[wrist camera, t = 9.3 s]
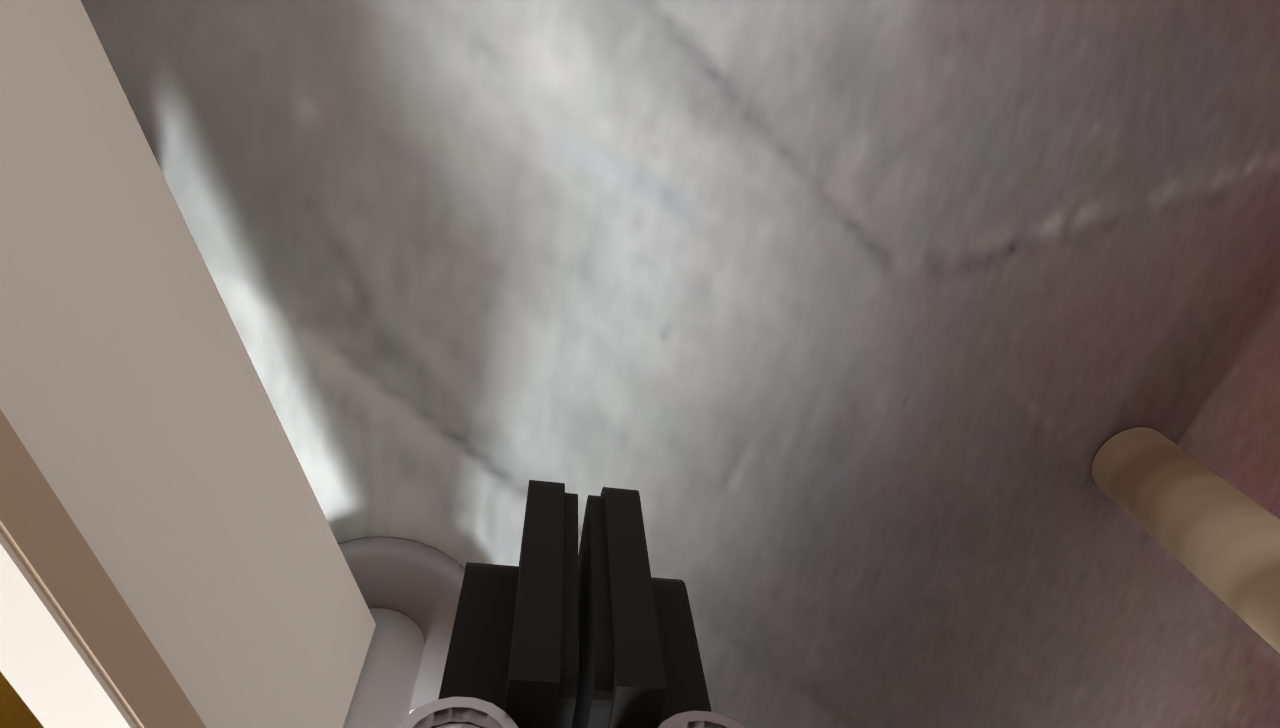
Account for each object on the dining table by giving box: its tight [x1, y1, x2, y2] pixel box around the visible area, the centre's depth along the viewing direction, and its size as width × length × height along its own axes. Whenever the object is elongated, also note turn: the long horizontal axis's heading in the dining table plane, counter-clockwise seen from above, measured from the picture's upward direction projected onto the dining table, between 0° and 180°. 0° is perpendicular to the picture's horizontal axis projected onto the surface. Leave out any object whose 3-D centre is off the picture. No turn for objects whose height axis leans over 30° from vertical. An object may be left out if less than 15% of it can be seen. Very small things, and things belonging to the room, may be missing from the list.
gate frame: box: [338, 427, 1280, 710], centre depth 16 cm, size 18×28×12 cm, turn 101°
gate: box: [0, 0, 425, 728], centre depth 14 cm, size 23×3×11 cm, turn 12°
